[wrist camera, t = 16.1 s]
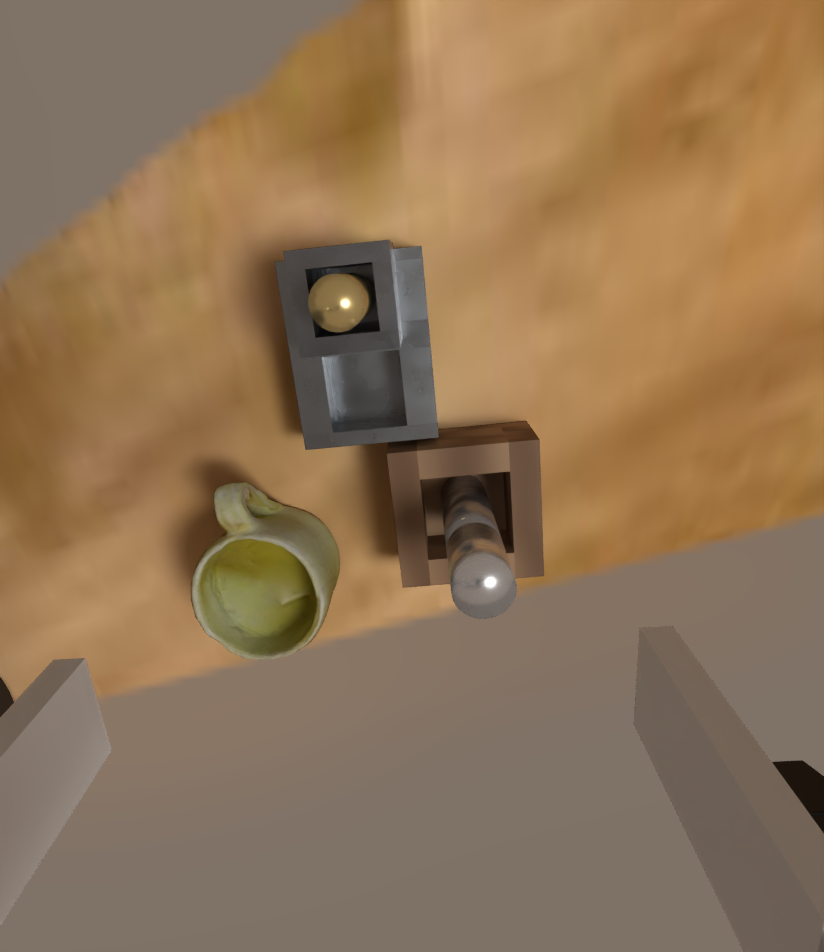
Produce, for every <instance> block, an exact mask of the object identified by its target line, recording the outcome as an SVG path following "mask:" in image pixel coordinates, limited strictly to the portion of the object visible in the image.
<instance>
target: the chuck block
mask: <svg viewBox="0 0 824 952" xmlns="http://www.w3.org/2000/svg"><path fill="white" fill-rule="evenodd" d="M283 252H284V259H285V261H278V262H275V268H276V274H277V280H278V286H279V292H280V298H281V304H282V310H283V317H284V323H285V329H286V335H287V341H288V347H289V353H290V359H291V365H292V371H293V377H294V383H295V389H296V395H297V401H298V407H299V413H300V419H301V425H302V431H303V437H304V443H305V449H306V450H310V449H321V448H332V447H342V446H353V445H363V444H374V443H385V442H395V441H406V440H417V439H427V438H438V437H439V435H438V424H437V413H436V402H435V391H434V380H433V369H432V357H431V346H430V335H429V324H428V313H427V302H426V290H425V279H424V268H423V257H422V246H416V247H407V248H398V249H393V243H392V242H391V241H390V240H382V241H373V242H364V243H355V244H346V245H337V246H327V247H318V248H309V249H300V250H291V251H283ZM341 273H356V274H359V275H361V276H363V277H365V278H366V279H367V280H368V281H369V282H370V284H371V285H372V287H373V290H374V294H375V301H374V305H373V308H372V310H371V312H370V313H369V314H368V315H367V316H366V317H365V318H363V319H362V320H361V321H360V322H359V323H358V324H357V325H355V326H354V327H353V328H351V329H350V330H347V331H344V332H331V331H328V330H326V329H324V328H322V327H321V326H319V325H318V324H317V323H316V322H315V320H314V319H313V317H312V315H311V313H310V310H309V304H308V300H309V294H310V291H311V289H312V287H313V285H314V284H315V283H316V282H317V281H318V280H319V279H320V278H322V277H324V276H326V275H329V274H341Z"/></svg>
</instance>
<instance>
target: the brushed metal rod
mask: <svg viewBox="0 0 824 952" xmlns="http://www.w3.org/2000/svg"><path fill="white" fill-rule="evenodd" d="M440 499H441V508H442V516H443V525H444V533H445V542H446V550H447V559H448V567H449V576H450V584H451V593H452V598H453V601H454V603H455V605H456V606H457V608H458V609H459V610H460V611H462V612H463V613H464V614H466V615H468V616H470V617H473V618H478V619H487V618H493V617H496V616H498V615H500V614H502V613H503V612H505V611H506V610H507V609H508V608H509V607H510V606H511V604H512V603H513V601H514V599H515V597H516V592H517V586H516V581H515V578H514V575H513V572H512V569H511V566H510V563H509V560H508V557H507V554H506V551H505V548H504V545H503V542H502V539H501V536H500V533H499V530H498V527H497V523H496V520H495V517H494V514H493V511H492V508H491V505H490V502H489V499H488V496H487V493H486V490H485V487H484V485H483V484H482V482H481V481H480V480H479V479H478V478H476V477H474V476H472V475H465V476H454V477H451V478H450V479H448V480H447V481H446V482H445V484H444V485H443V487H442V489H441V493H440Z"/></svg>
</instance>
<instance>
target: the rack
mask: <svg viewBox="0 0 824 952" xmlns="http://www.w3.org/2000/svg"><path fill="white" fill-rule="evenodd" d="M438 435H439V437H438V438H427V439H417V440H406V441H395V442H389V444H388V449H387V461H388V469H389V477H390V486H391V494H392V502H393V511H394V519H395V527H396V536H397V544H398V552H399V561H400V569H401V577H402V586H403V588H405V587H417V586H430V585H442V584H450V576H449V567H448V559H447V550H446V542H445V533H444V525H443V516H442V508H441V499H440V493H441V489H442V487H443V485H444V484H445V482H446V481H447V480H448V479H450V478H451V477H454V476H465V475H472V476H474V477H476V478H478V479H479V480H480V481H481V482H482V484H483V485H484V487H485V490H486V493H487V496H488V499H489V502H490V505H491V508H492V511H493V514H494V517H495V520H496V523H497V527H498V530H499V533H500V536H501V539H502V542H503V545H504V548H505V551H506V554H507V557H508V560H509V563H510V566H511V569H512V572H513V575H514V578H526V577H538V576H544V560H543V530H542V499H541V469H540V439H539V438H538V437H537V435H536V434H535V432H534V431H533V429H532V428H531V427H530V425H529V424H528V422H527V421H522V422H511V423H501V424H490V425H480V426H469V427H459V428H448V429H438Z"/></svg>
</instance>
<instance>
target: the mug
mask: <svg viewBox="0 0 824 952" xmlns="http://www.w3.org/2000/svg"><path fill="white" fill-rule="evenodd" d="M214 505H215V515H216V518H217V520H218V524H219V525H220V526H221V527H222V528H223V529H224V530H225V531H226V533H225V534H224V535H222V536H221V537H220V538H218V539H217V540H216V541H215V542H213V543H212V544H211V545H210V546H209V547H208V548H207V549H206V550H205V552H204V553H203V555H202V556H201V558H200V560H199V562H198V564H197V566H196V568H195V570H194V573H193V577H192V581H191V601H192V606H193V609H194V613H195V617H196V619H197V620H198V622H199V623H200V625H201V626H202V628H203V630H204V631H205V633H206V634H207V635H209V636H210V637H212V638H213V639H215V640H217V641H218V642H219V643H221V644H222V645H223V646H224V647H225V648H226V649H227V650H228V651H230V652H232V653H234V654H236V655H239V656H241V657H243V658H247V659H257V660H263V659H275V658H279V657H286V656H289V655H291V654H293V653H295V652H296V651H298V650H299V649H301V648H303V647H305V646H306V645H307V644H309V643H310V642H311V641H312V640H313V639H314V637H315V636H316V634H317V633H318V631H319V629H320V628H321V626H322V624H323V622H324V620H325V617H326V615H327V611H328V608H329V605H330V601H331V598H332V594H333V591H334V589H335V586H336V583H337V580H338V576H339V571H340V557H339V550H338V547H337V544H336V541H335V539H334V537H333V536H332V534H331V532H330V531H329V529H328V528H327V527H326V526H325V524H324V523H323V522H321V521H320V520H319V519H318V518H316V517H315V516H313V515H312V514H310V513H308V512H305V511H303V510H300V509H297V508H293V507H289V506H284V505H281V504H280V503H278V502H275V501H272V500H270V499H268V498H267V496H266V495H265V494H264V493H262V492H261V491H260V490H258V489H255V488H254V487H253V485H250V484H249V483H245V482H240V483H229V484H225V485H222V486H220V487H217V490H216V491H215V493H214Z"/></svg>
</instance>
